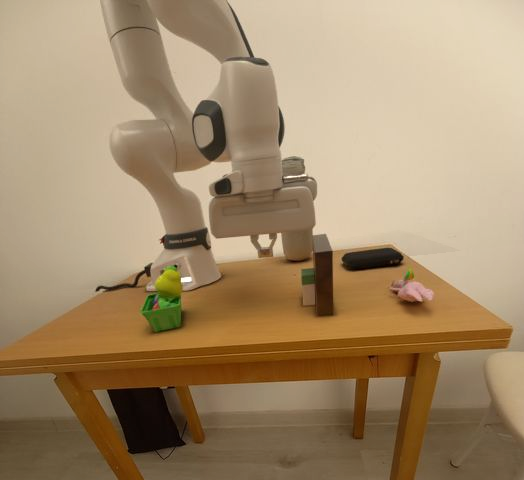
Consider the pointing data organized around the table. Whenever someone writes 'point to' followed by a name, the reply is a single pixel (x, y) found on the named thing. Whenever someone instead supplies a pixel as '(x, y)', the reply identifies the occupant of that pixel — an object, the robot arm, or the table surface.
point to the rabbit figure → (411, 289)
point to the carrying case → (372, 258)
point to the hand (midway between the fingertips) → (265, 257)
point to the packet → (308, 286)
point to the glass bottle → (301, 241)
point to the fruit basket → (165, 301)
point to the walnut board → (323, 274)
